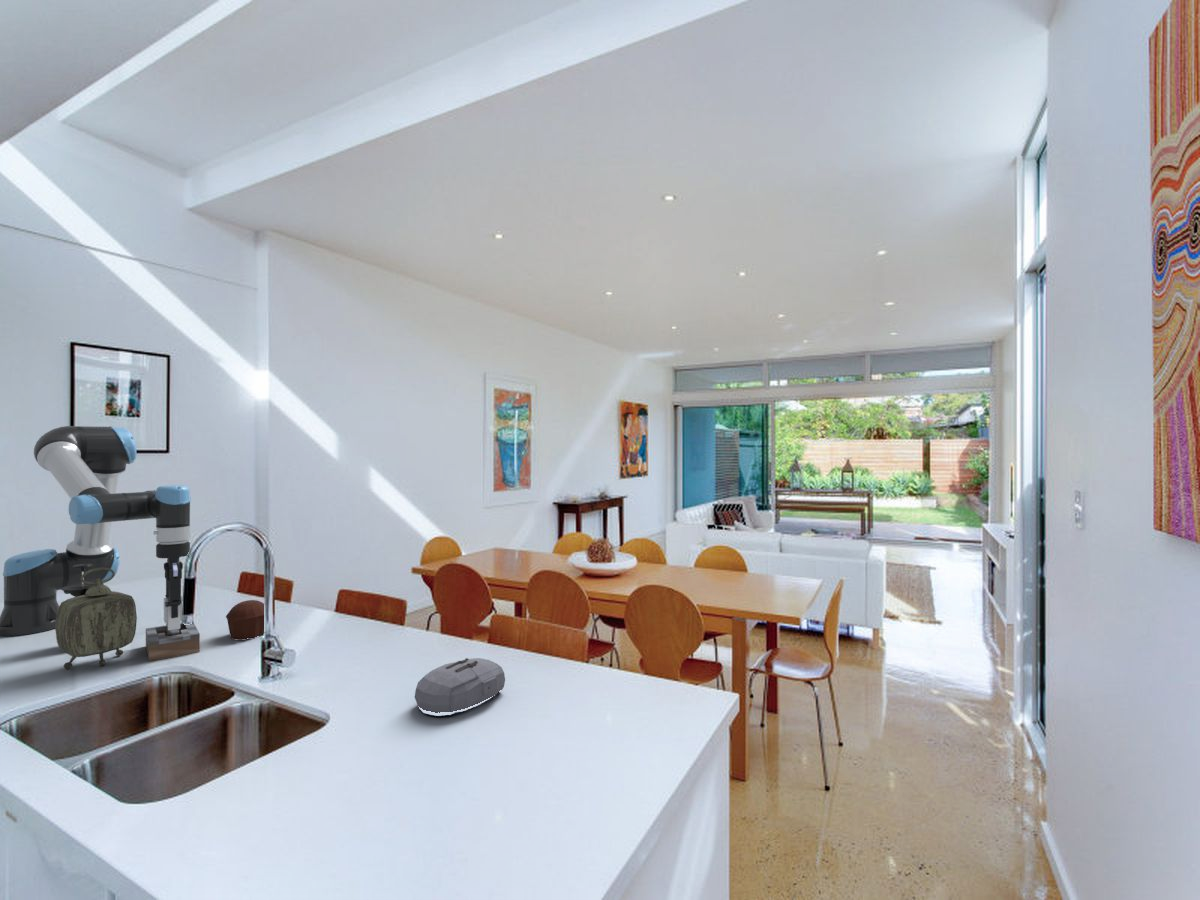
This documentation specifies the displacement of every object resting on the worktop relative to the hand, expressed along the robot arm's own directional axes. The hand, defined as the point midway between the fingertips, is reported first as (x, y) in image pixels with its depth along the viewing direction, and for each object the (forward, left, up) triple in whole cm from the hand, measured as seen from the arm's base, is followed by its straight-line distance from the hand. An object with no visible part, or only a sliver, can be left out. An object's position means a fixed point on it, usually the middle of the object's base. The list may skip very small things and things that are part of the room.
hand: (173, 626), depth 161 cm
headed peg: (0, 0, -6) cm, 6 cm away
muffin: (-3, +19, -7) cm, 20 cm away
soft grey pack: (+78, +46, -7) cm, 91 cm away
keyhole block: (-3, 0, -7) cm, 8 cm away
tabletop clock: (-1, -16, -7) cm, 17 cm away
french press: (-22, -18, -7) cm, 30 cm away
